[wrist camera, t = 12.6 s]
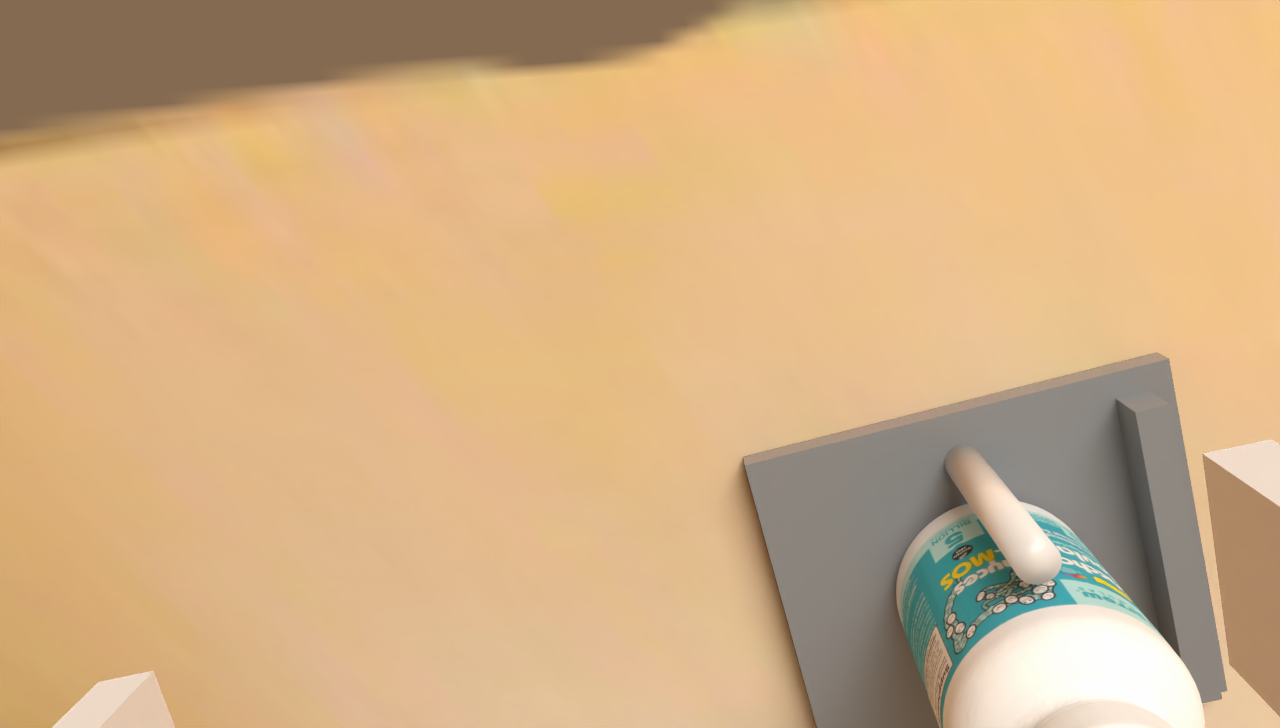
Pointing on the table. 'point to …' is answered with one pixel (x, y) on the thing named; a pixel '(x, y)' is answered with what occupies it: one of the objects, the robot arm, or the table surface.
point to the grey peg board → (993, 486)
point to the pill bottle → (1033, 637)
